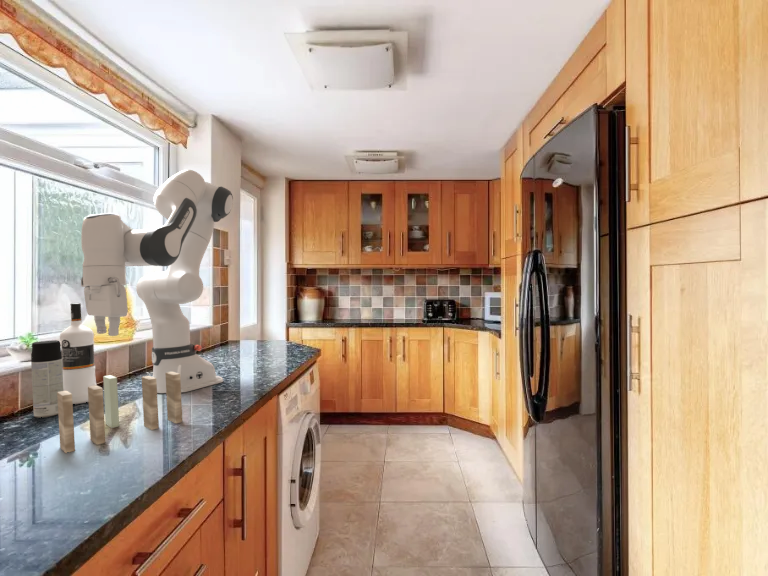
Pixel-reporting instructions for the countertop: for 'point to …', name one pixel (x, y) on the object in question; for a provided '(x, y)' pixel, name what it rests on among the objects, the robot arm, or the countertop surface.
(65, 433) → the domino
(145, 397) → the domino
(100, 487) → the countertop surface
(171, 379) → the domino
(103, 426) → the brown wooden flat block
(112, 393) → the domino
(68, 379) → the vodka
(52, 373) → the spray can
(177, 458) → the countertop surface
